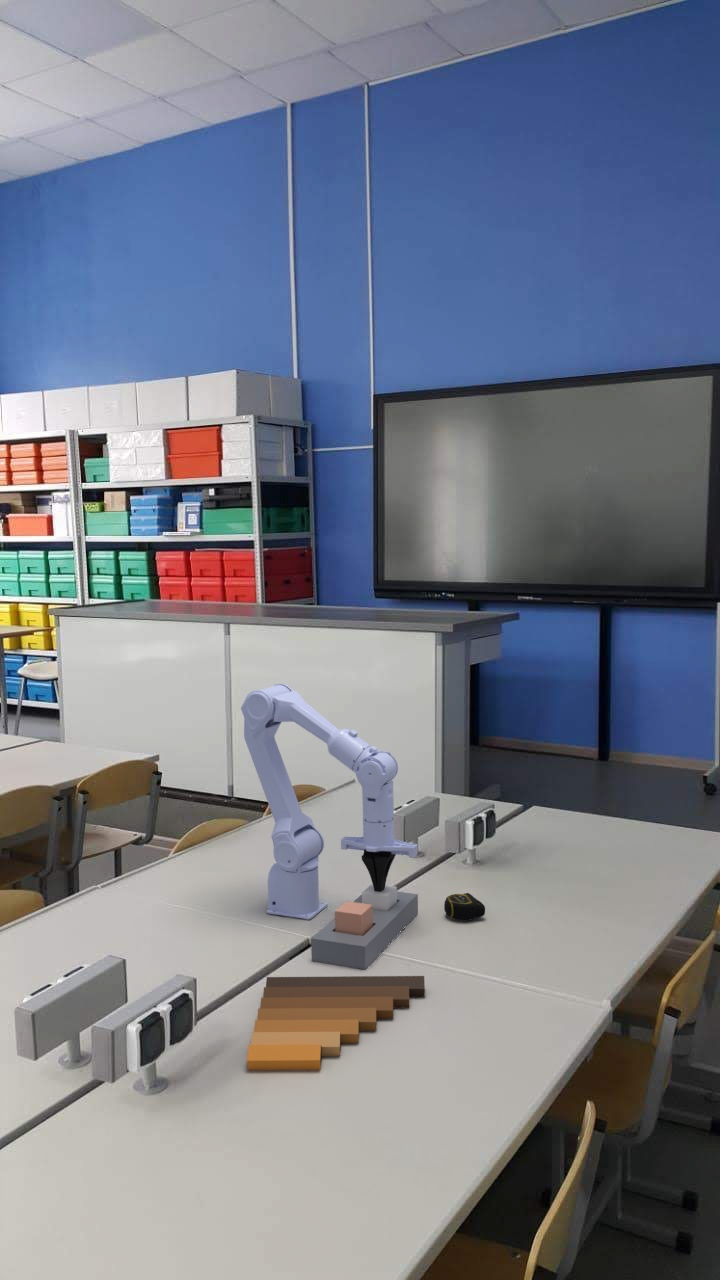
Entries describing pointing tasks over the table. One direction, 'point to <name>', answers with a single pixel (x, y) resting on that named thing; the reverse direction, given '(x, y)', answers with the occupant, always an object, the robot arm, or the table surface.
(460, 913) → the tape measure
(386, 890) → the white key
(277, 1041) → the pan flute
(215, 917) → the table surface
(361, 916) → the terracotta key
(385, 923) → the key panel
